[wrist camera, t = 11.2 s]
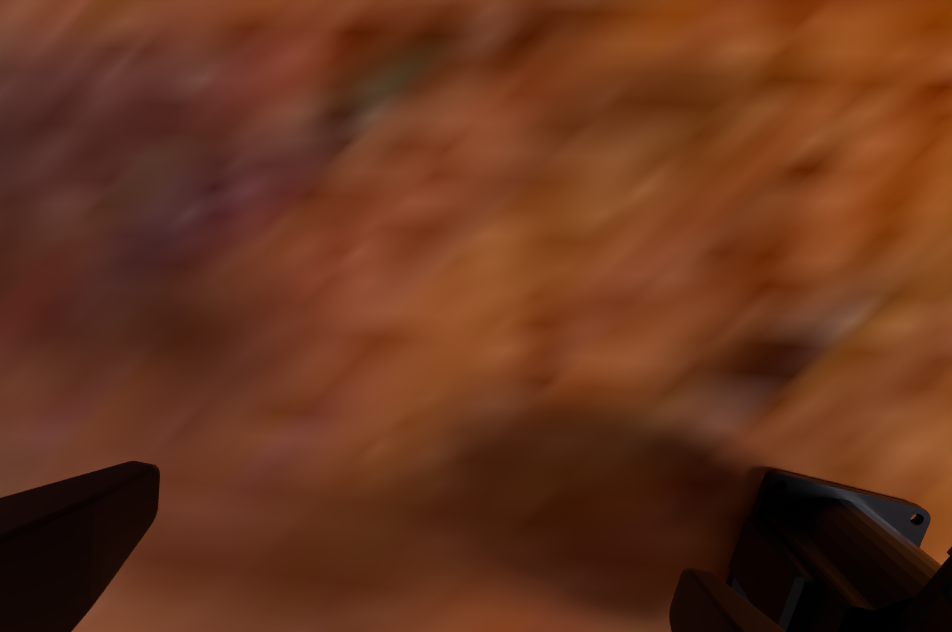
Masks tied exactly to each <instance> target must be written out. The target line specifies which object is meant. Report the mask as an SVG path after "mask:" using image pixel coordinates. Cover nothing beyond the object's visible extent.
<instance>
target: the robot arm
mask: <svg viewBox="0 0 952 632" xmlns="http://www.w3.org/2000/svg"><path fill="white" fill-rule="evenodd" d="M778 480H782V483H781V484H780V485H779V486H777V487H774V483H775V482H776V481H778ZM159 483H160V471H159V468H158V467H157V466H156V465H153V464H148V463H143V462H138V461H130V462H126V463H122V464H119V465H115V466H112V467H108V468H105V469H101V470H98V471H94V472H91V473H87V474H83V475H80V476H76V477H73V478H69V479H66V480H62V481H59V482H55V483H52V484H48V485H44V486H41V487H37V488H34V489H30V490H27V491H23V492H20V493H16V494H13V495H9V496H5V497H2V498H0V632H71V631H72V630H73V629H74V628H75V627H76V626H77V624H78V623H79V622H80V621H81V620H82V618H83V617H84V616H85V615H86V614H87V612H88V611H89V610H90V609H91V608H92V606H93V605H94V604H95V602H96V601H97V600H98V598H99V597H100V596H101V594H102V593H103V592H104V590H105V589H106V587H107V586H108V585H109V583H110V582H111V580H112V579H113V578H114V576H115V575H116V573H117V572H118V571H119V569H120V568H121V566H122V565H123V564H124V562H125V561H126V559H127V558H128V557H129V555H130V554H131V552H132V551H133V550H134V548H135V547H136V546H137V544H138V543H139V541H140V540H141V539H142V537H143V536H144V534H145V533H146V532H147V530H148V529H149V527H150V526H151V524H152V523H153V521H154V519H155V517H156V514H157V510H158V499H159ZM914 514H916V517H915V518H914V519H912V520H910V518H911V517H912V515H914ZM929 523H930V515H929V513H928V512H927V511H926V510H925V509H923V508H922V507H920V506H919V505H917V504H915V503H911V502H907V501H903V500H899V499H895V498H891V497H886V496H882V495H878V494H874V493H870V492H866V491H862V490H858V489H854V488H850V487H846V486H842V485H838V484H833V483H829V482H825V481H821V480H817V479H813V478H809V477H805V476H801V475H797V474H793V473H789V472H785V471H780V470H772V471H769V472H768V473H767V474H766V475H765V476H764V478H763V481H762V483H761V486H760V489H759V492H758V495H757V498H756V500H755V503H754V506H753V509H752V512H751V514H750V515H749V516H748V517H746V520H745V522H744V525H743V528H742V531H741V534H740V537H739V539H738V542H737V545H736V548H735V551H734V554H733V557H732V559H731V562H730V565H729V568H730V570H731V571H730V574H729V577H728V580H727V583H726V584H725V583H724V582H723V581H722V580H720V579H719V578H718V577H717V576H715V575H714V574H713V573H711V572H709V571H705V570H700V569H694V568H686V569H684V570H683V572H682V574H681V576H680V579H679V582H678V585H677V588H676V591H675V594H674V597H673V600H672V603H671V606H670V612H669V619H670V626H671V631H672V632H952V547H951V548H950V549H949V550H948V551H947V553H948V554H949V555H950V556H949V558H948V559H947V560H946V561H945V562H944V563H943V565H942V566H941V565H940V564H939V563H938V562H936V561H935V560H934V559H933V558H931V557H930V556H929V555H928V554H926V553H925V552H924V551H923V550H921V549H920V548H919V547H920V544H921V542H922V540H923V537H924V535H925V533H926V530H927V528H928V526H929Z"/></svg>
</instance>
